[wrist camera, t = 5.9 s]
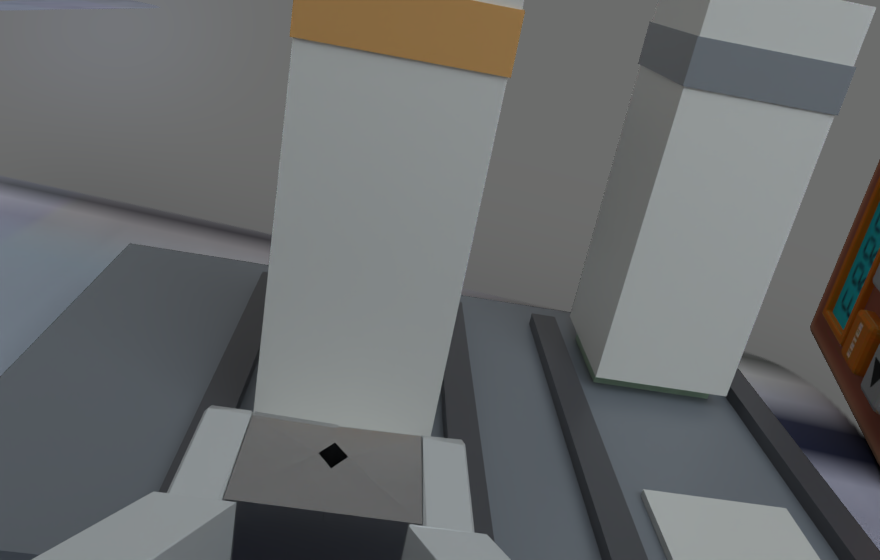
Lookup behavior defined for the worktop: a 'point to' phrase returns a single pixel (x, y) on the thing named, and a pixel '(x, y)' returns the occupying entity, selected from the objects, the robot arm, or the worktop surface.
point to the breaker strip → (520, 336)
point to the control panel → (856, 318)
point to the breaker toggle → (378, 203)
